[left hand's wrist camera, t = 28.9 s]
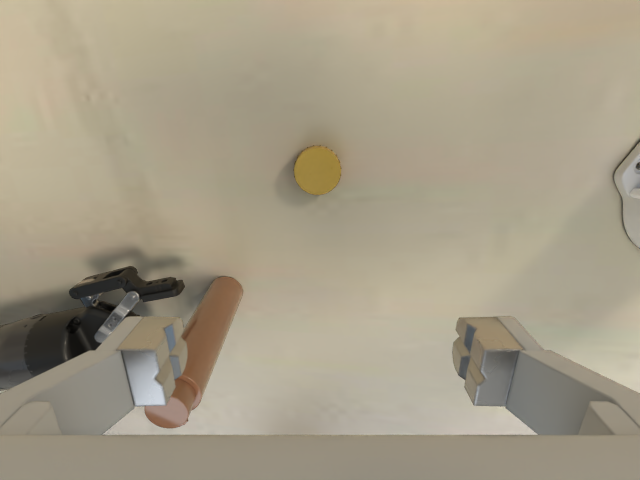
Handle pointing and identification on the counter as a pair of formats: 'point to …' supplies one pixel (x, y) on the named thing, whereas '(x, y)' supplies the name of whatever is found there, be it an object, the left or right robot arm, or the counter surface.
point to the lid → (317, 170)
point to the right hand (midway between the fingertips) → (194, 322)
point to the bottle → (200, 351)
